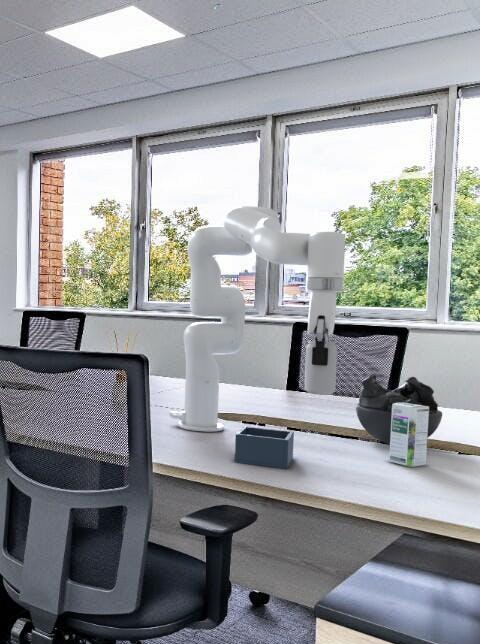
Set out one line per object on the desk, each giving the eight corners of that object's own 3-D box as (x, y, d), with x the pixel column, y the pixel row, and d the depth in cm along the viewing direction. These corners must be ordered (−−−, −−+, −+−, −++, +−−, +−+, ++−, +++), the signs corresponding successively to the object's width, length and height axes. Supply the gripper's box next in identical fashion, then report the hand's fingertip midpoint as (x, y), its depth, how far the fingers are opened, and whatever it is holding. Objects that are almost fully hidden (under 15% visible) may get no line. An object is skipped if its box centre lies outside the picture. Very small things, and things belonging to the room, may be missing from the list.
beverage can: (338, 396, 158) (341, 343, 157) (308, 394, 159) (310, 342, 158) (330, 392, 164) (332, 341, 163) (300, 390, 165) (303, 340, 164)
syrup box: (387, 461, 170) (390, 403, 169) (404, 459, 173) (407, 401, 172) (410, 467, 165) (413, 406, 164) (427, 465, 167) (430, 405, 167)
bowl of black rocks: (459, 451, 183) (463, 380, 182) (399, 455, 177) (403, 381, 176) (392, 435, 202) (396, 371, 201) (337, 438, 196) (340, 372, 195)
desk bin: (234, 462, 168) (235, 434, 167) (242, 452, 177) (243, 426, 177) (287, 469, 162) (288, 440, 161) (292, 458, 172) (293, 431, 171)
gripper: (309, 286, 169) (306, 359, 170) (302, 285, 154) (299, 366, 155) (344, 286, 165) (341, 361, 166) (340, 286, 151) (336, 368, 152)
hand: (320, 363), depth 161 cm, fingers closed on beverage can, 6 cm apart
